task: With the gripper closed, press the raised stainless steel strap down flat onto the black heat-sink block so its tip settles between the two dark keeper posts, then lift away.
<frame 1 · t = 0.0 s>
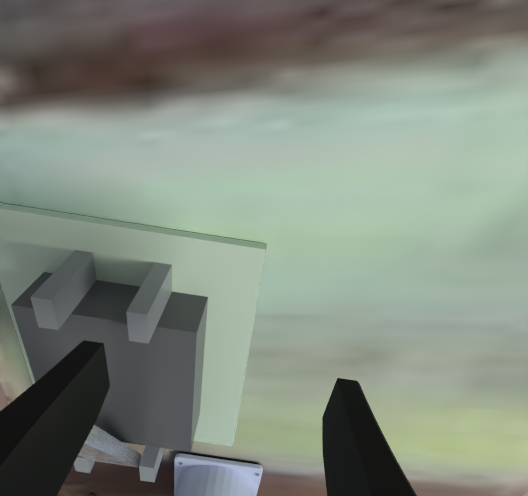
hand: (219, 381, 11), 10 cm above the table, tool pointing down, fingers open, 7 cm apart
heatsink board: (135, 345, 26), on the table
strap: (90, 444, 20), point 7 cm above the table, hinge at 22.0°
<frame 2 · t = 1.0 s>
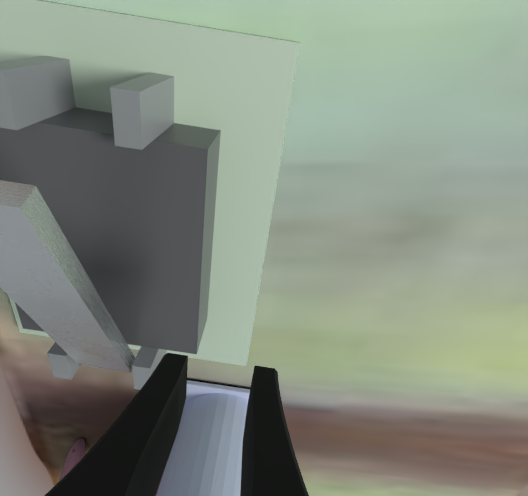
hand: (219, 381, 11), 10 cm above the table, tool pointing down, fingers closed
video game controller: (127, 457, 35), on the table
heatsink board: (127, 220, 20), on the table
strap: (64, 307, 15), point 7 cm above the table, hinge at 22.0°
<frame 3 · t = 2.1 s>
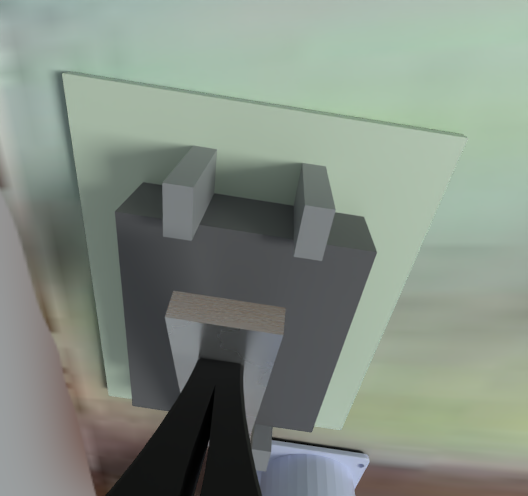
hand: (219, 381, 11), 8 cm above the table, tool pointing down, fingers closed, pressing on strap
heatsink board: (241, 294, 20), on the table
strap: (221, 399, 15), point 6 cm above the table, hinge at 17.7°, touching gripper
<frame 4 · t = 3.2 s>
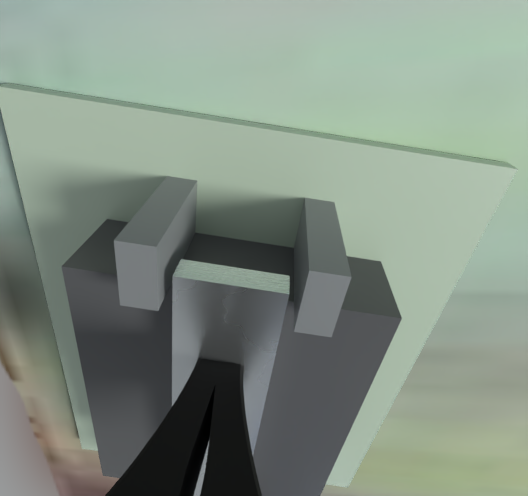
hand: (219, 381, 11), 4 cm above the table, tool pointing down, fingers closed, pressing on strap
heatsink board: (232, 343, 17), on the table
strap: (215, 429, 13), point 4 cm above the table, hinge at -0.3°, touching gripper
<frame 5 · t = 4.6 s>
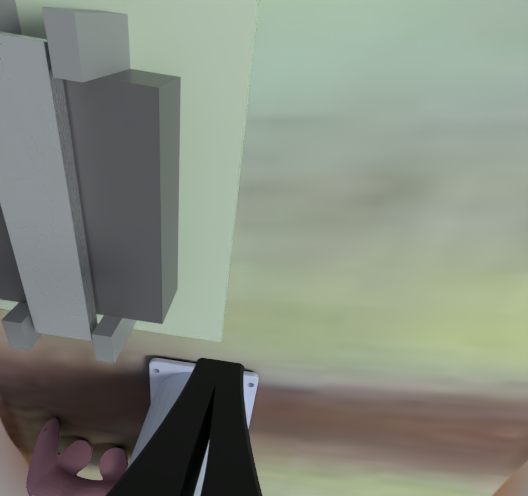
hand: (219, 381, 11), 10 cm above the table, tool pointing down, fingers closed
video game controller: (103, 438, 33), on the table
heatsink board: (89, 181, 19), on the table
strap: (44, 217, 16), point 4 cm above the table, hinge at -0.4°
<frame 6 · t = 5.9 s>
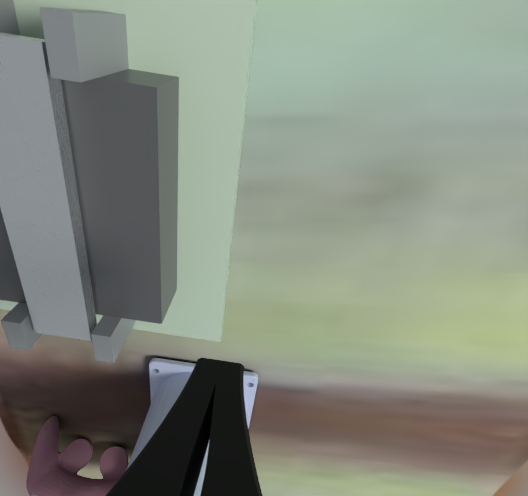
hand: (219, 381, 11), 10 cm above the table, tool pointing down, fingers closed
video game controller: (104, 437, 33), on the table
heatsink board: (88, 182, 19), on the table
strap: (43, 217, 16), point 4 cm above the table, hinge at -0.4°
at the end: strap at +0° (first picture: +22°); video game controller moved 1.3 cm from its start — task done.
